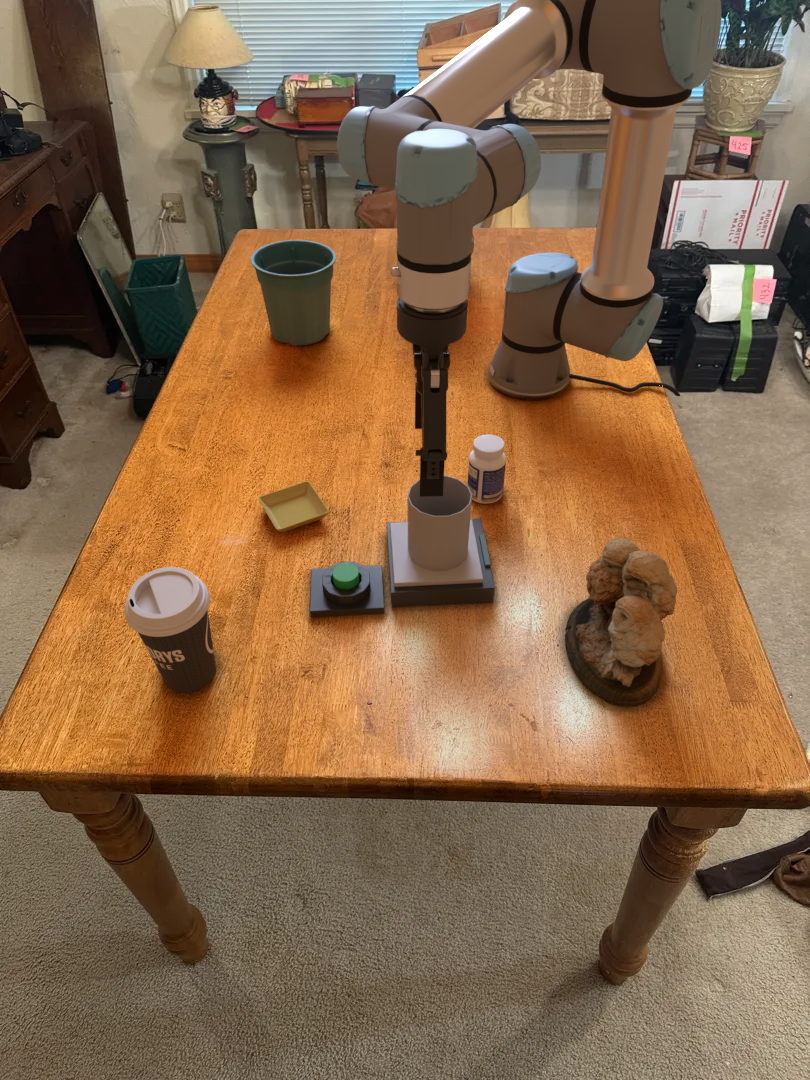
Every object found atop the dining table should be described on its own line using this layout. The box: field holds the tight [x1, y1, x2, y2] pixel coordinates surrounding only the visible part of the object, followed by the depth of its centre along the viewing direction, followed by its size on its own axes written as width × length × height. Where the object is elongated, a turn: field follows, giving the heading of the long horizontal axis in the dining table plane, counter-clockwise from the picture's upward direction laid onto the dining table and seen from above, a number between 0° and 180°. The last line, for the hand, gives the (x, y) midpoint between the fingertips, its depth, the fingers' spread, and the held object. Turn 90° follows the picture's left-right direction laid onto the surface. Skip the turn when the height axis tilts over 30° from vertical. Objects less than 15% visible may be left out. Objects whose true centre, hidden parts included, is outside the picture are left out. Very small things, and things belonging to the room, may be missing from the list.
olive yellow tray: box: [258, 480, 330, 533], centre depth 117 cm, size 9×9×2 cm
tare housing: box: [309, 561, 385, 618], centre depth 105 cm, size 10×8×3 cm
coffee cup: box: [124, 566, 217, 694], centre depth 91 cm, size 10×10×15 cm
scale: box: [386, 517, 496, 608], centre depth 108 cm, size 14×14×4 cm
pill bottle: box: [466, 433, 507, 505], centre depth 118 cm, size 6×6×10 cm
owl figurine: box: [564, 536, 679, 707], centre depth 93 cm, size 18×12×17 cm, turn 6°
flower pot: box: [250, 239, 337, 346], centre depth 153 cm, size 16×16×16 cm
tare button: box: [332, 563, 359, 590], centre depth 103 cm, size 4×4×2 cm
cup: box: [407, 474, 473, 571], centre depth 103 cm, size 8×8×10 cm
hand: (428, 459), depth 94 cm, fingers open, 13 cm apart
